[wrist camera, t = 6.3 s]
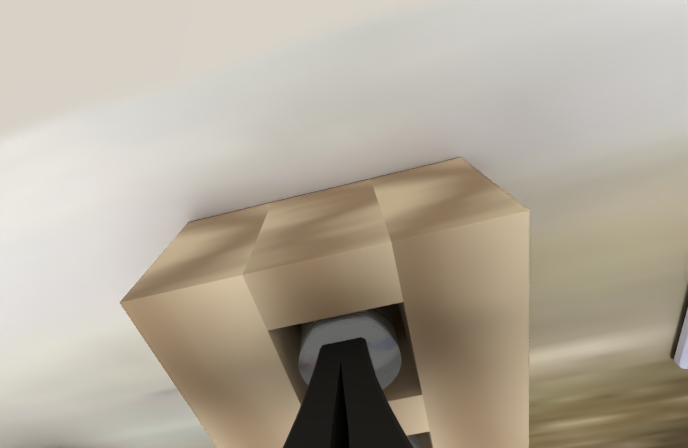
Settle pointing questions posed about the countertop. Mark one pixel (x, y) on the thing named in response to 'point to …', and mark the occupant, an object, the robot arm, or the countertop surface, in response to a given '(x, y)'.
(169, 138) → the countertop surface
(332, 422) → the robot arm
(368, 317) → the peg
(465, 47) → the countertop surface
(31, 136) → the countertop surface
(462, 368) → the housing
